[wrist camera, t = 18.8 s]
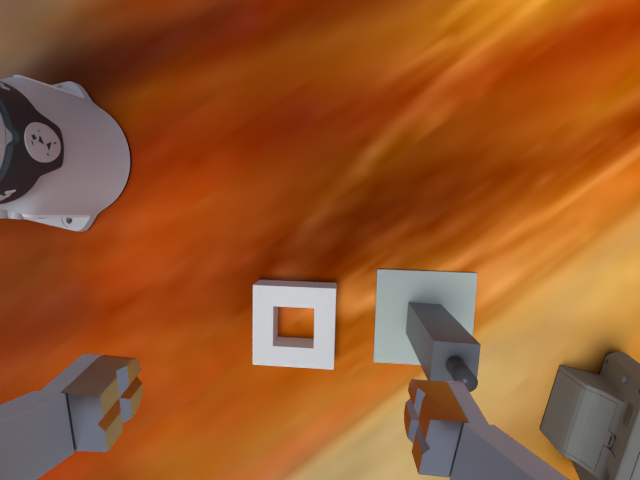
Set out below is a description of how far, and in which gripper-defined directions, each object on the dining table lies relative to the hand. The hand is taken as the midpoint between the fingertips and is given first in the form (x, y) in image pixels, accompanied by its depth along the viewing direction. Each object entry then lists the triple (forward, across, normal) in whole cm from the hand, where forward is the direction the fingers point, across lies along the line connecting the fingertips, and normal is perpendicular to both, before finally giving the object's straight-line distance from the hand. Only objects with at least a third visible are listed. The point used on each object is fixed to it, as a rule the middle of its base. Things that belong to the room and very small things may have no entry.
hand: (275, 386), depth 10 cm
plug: (+28, -15, +12) cm, 34 cm away
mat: (+29, -15, +13) cm, 35 cm away
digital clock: (+26, -36, +21) cm, 49 cm away
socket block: (+30, +1, +15) cm, 33 cm away
